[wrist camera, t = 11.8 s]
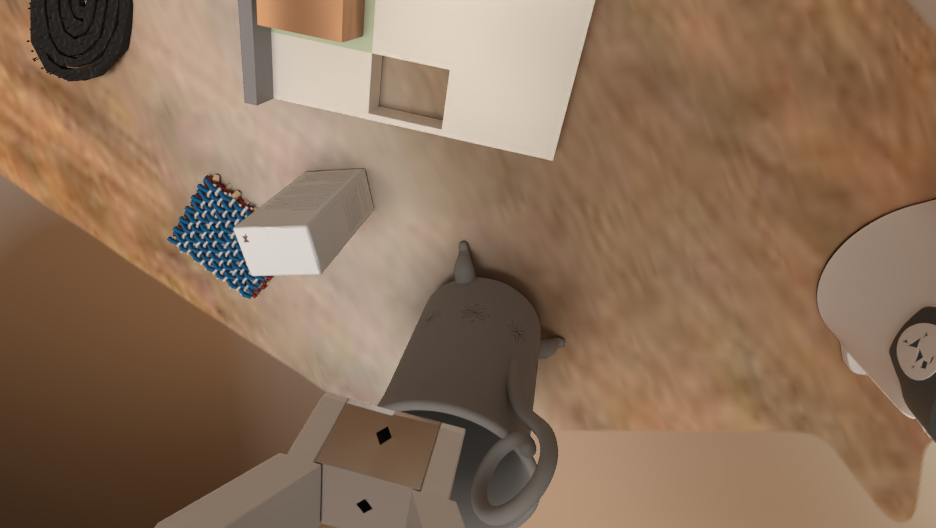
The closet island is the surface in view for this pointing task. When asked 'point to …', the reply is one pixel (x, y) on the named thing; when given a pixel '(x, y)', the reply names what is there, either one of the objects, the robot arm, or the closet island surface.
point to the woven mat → (207, 240)
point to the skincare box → (305, 223)
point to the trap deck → (440, 45)
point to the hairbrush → (98, 24)
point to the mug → (482, 393)
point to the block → (314, 17)
